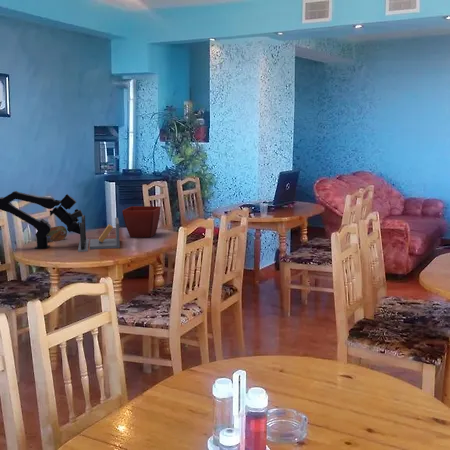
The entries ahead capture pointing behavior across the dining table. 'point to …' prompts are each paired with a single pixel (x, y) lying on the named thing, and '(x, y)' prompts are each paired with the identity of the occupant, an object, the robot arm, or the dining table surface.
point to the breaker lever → (105, 233)
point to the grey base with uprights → (107, 240)
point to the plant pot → (142, 220)
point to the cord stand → (83, 237)
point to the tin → (57, 233)
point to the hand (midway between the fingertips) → (84, 234)
